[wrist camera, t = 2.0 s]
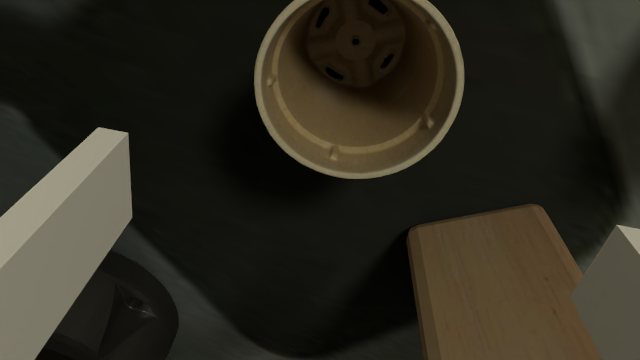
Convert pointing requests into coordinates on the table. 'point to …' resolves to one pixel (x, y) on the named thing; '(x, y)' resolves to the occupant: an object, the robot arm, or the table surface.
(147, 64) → the table surface
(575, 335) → the wooden block
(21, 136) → the table surface
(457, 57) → the flower pot
